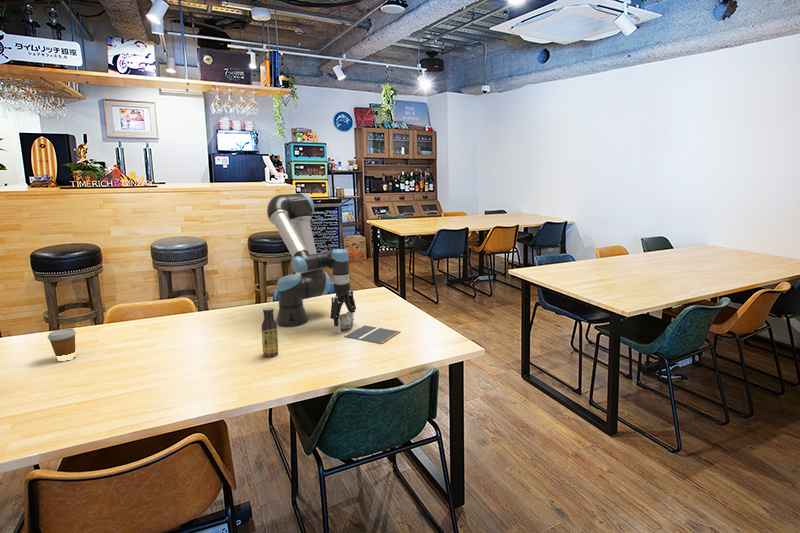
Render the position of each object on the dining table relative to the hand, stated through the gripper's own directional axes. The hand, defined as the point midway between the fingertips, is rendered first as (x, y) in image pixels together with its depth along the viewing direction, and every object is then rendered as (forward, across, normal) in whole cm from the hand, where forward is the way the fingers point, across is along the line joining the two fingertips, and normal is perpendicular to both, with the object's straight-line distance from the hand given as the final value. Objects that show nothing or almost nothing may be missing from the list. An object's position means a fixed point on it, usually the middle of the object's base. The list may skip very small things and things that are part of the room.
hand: (344, 328), depth 215 cm
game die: (+1, 0, 0) cm, 1 cm away
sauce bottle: (+1, -38, +10) cm, 39 cm away
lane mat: (0, 0, -16) cm, 16 cm away
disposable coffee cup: (+1, -79, +86) cm, 117 cm away
